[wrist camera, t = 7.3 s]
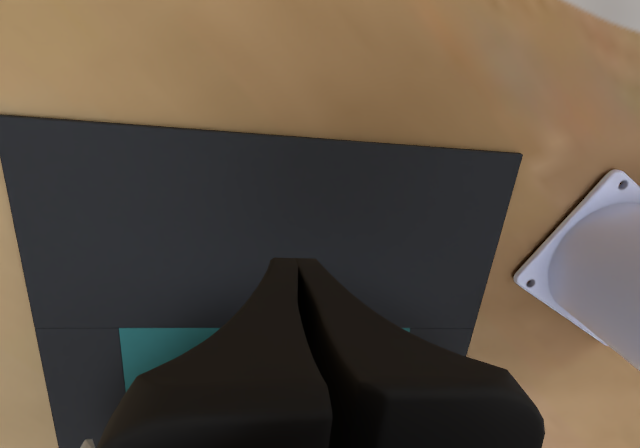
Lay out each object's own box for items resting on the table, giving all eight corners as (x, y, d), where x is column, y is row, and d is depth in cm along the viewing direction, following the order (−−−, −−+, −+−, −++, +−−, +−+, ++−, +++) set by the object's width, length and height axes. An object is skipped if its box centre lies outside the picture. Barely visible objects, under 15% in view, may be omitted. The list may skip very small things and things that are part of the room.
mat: (-3, 114, 17) (-9, 115, 16) (518, 152, 20) (523, 154, 20) (86, 567, 28) (83, 573, 27) (411, 539, 32) (412, 545, 31)
